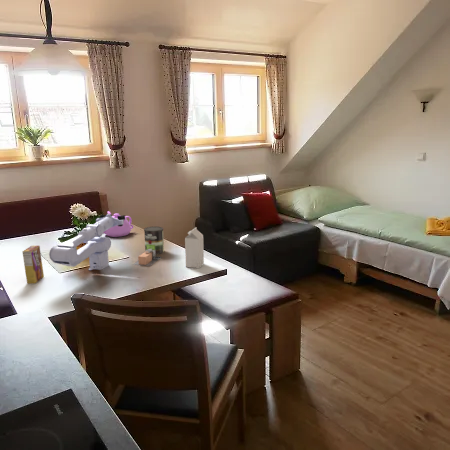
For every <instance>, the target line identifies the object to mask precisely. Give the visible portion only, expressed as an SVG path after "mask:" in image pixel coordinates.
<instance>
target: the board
mask: <svg viewBox="0 0 450 450" xmlns="http://www.w3.org/2000/svg"><path fill="white" fill-rule="evenodd" d="M162 258H163V257H162V256H158V255H156V258H155V259H152V261H151V262H149V263H148V264H146V265H143V264H139V261H138V260H137V261H136V262H134V263H133V264H131V265H132V266H142V267H143V266H144V267H151V266H152V265H154V264H155V263H156V262H158V261H159V260H160V259H162Z"/></svg>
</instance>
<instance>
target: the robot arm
mask: <svg viewBox="0 0 450 450" xmlns="http://www.w3.org/2000/svg"><path fill="white" fill-rule="evenodd" d="M112 216H113V215H112V214H111V215H110V214H108V213H106V214H100V215H99V217H97V218H96V219H95V223H93V224H92V223H91V224H89V223H88V224H86V226H85V227H84V228H82V230H81V231H79V232H78V233H77V235H76V236H74V237H73V238H70V239H68V240H66V241H63V242H60V243H57V244H56V246H51V248H50V250H49V251H48V252H49V253H48V255H49V257H48V258H49V259H50V261H51V262H52V263H54V264H58V265H62V266H65V267H73V268H75V267H76V266H78V265H79V264H81V263H82V262H83V261H85V260H87V259H88V260H89V262H88V263H89V268H88V271H92V270H99V271H100V270H103V269H104V268H108V266H109V250H110V248H111V247H112V241H111V238H110V236H107V237H106V236H103V232H105V231H106V230H108V229H109V228H111V227H114V226H117V225H118V226H123V224H124V220H125V216H126V215H125V214H122V215H119V216H118V219H116V218H114V217H112ZM80 244H85V245H83V246H82V247H80V248H78V249H77V247H78V246H80Z"/></svg>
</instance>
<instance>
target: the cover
mask: <svg viewBox="0 0 450 450" xmlns="http://www.w3.org/2000/svg"><path fill="white" fill-rule="evenodd" d="M137 258H138V259H137V261H139V264H143V265H146V264H148V263H149V262H151V261H152V253H145V251H144V252H143V253H141V254H139V255H138V257H137Z"/></svg>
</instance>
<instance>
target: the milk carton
mask: <svg viewBox="0 0 450 450" xmlns="http://www.w3.org/2000/svg"><path fill="white" fill-rule="evenodd" d="M187 234H188V235H187V236H185V238H184V244H185V245H184V246H185V247H184V248H185V249H184V250H185V251H184V253H185V254H184V255H185V267H186V268H193V269H195V268H196V269H200V268H201V267H202V266H203V265H204V264H205V263H204V262H205V259H204V257H205V256H204V234H203V233H201V232H200V231H199V230H198V229H197V227H196V226H195V227H194V228H193V229H192V230H189V231H188V232H187Z"/></svg>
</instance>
